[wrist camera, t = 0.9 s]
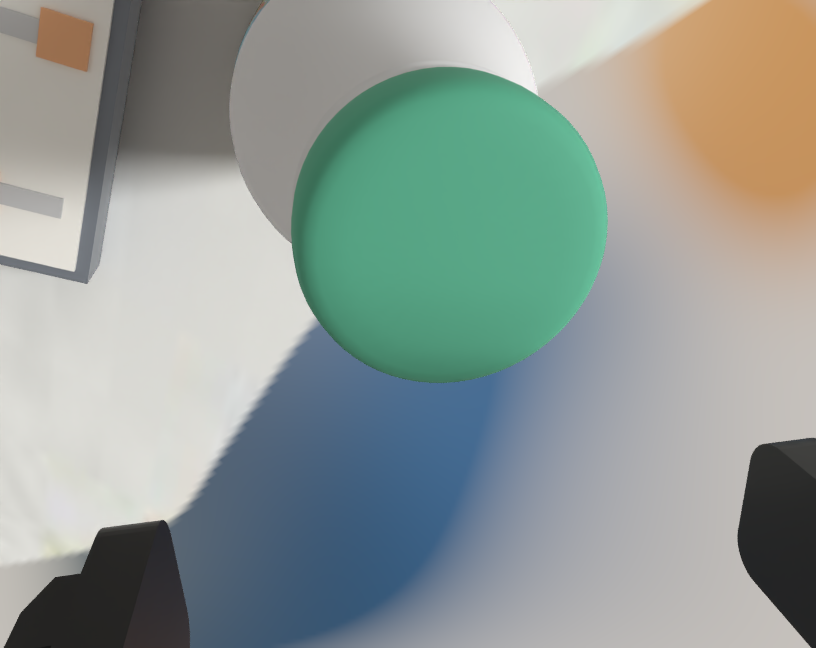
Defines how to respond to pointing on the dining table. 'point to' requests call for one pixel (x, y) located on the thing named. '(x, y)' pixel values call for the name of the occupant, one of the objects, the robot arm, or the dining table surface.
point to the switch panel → (61, 128)
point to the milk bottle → (417, 180)
